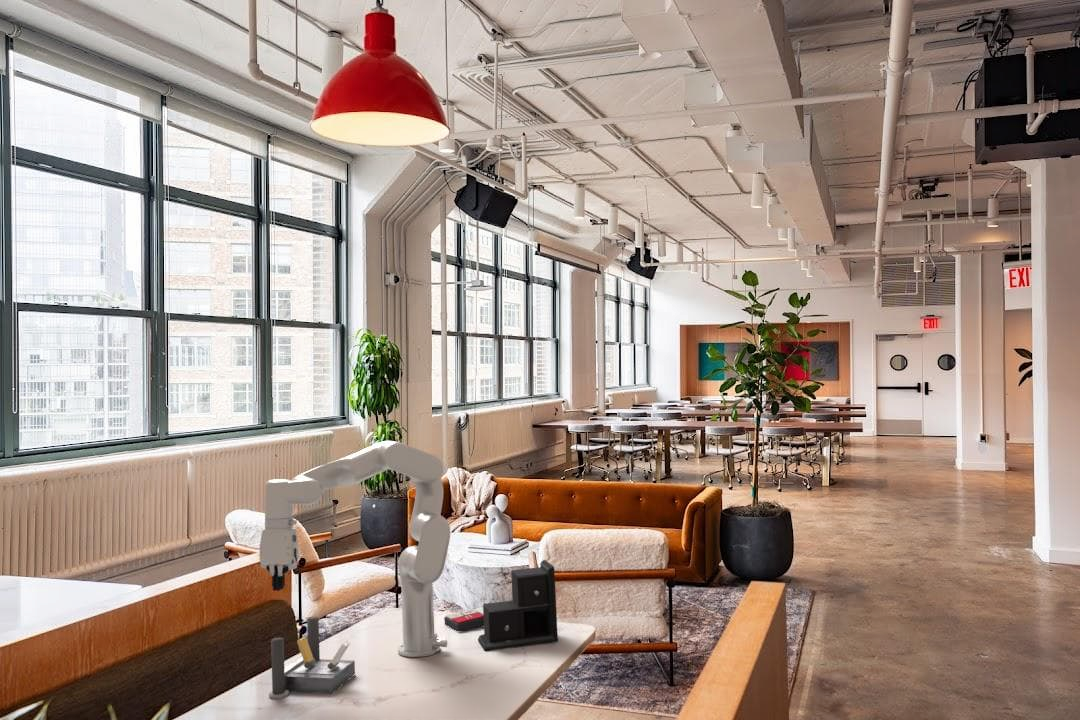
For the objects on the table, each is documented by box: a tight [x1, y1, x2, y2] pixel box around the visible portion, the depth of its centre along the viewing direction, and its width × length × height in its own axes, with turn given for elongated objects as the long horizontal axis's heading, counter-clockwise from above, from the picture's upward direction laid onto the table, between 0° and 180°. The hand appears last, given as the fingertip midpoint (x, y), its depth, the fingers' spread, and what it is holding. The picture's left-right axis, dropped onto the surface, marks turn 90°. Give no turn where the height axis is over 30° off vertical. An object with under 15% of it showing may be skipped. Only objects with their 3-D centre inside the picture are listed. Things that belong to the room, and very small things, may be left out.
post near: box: [268, 637, 290, 700], centre depth 226 cm, size 5×5×15 cm
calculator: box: [443, 606, 484, 632], centre depth 285 cm, size 11×4×15 cm
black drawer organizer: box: [477, 559, 559, 652], centre depth 265 cm, size 23×11×24 cm, turn 105°
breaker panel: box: [284, 656, 356, 694], centre depth 234 cm, size 16×14×5 cm
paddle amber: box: [296, 636, 316, 668], centre depth 235 cm, size 2×4×8 cm, turn 168°
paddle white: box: [328, 640, 351, 669], centre depth 233 cm, size 2×4×8 cm
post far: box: [306, 615, 321, 659], centre depth 246 cm, size 5×5×15 cm
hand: (278, 589), depth 238 cm, fingers closed
